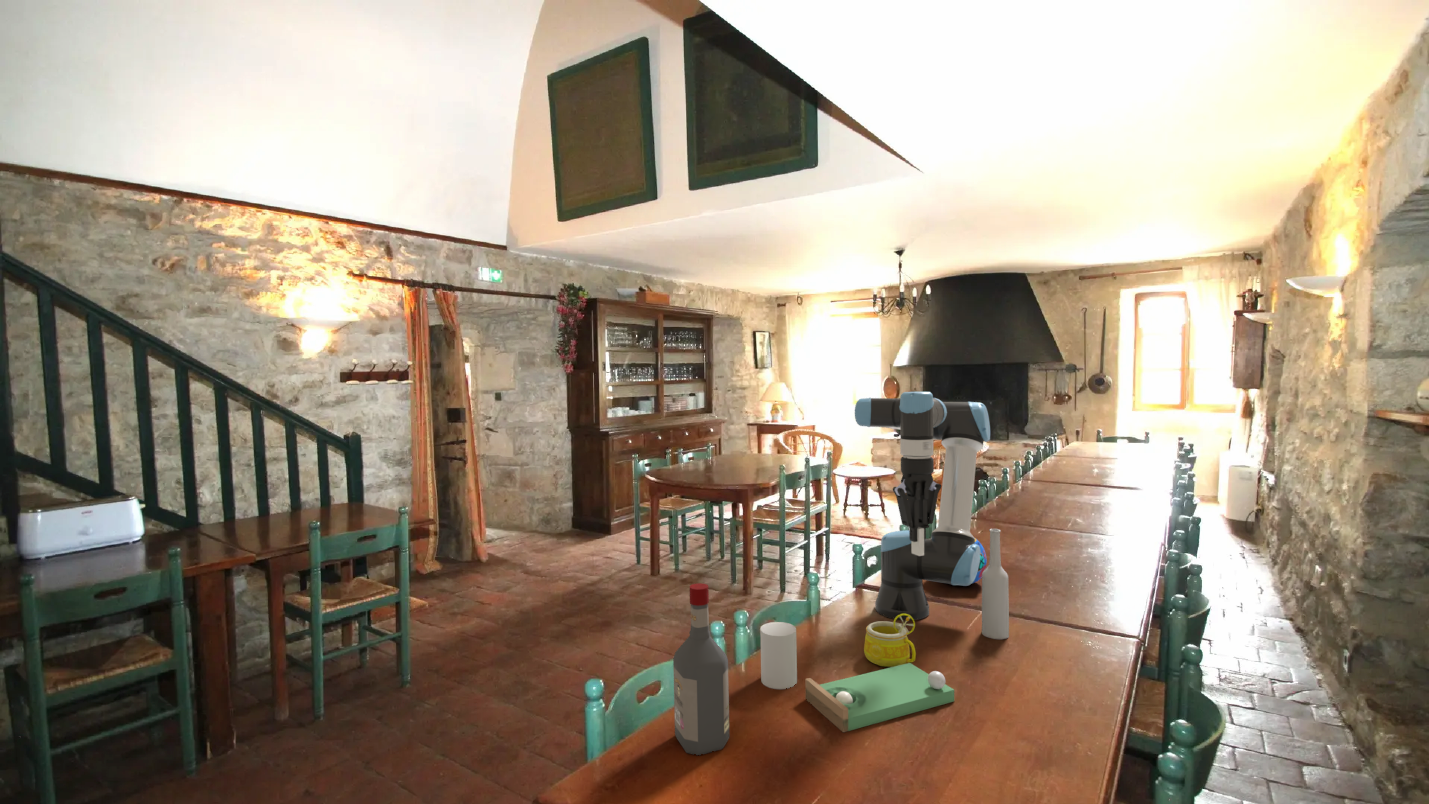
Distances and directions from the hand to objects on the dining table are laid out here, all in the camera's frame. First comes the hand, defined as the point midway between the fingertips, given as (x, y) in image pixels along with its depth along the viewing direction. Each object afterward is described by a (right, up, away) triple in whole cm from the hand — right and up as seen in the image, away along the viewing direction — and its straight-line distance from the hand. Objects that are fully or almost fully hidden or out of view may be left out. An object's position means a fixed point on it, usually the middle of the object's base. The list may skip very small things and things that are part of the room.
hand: (917, 554), depth 152 cm
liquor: (-51, -29, -31) cm, 66 cm away
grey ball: (-2, -23, -17) cm, 29 cm away
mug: (-6, -27, +2) cm, 27 cm away
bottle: (+26, -25, +16) cm, 39 cm away
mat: (-14, -27, -17) cm, 35 cm away
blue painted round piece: (+32, -24, +58) cm, 70 cm away
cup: (-34, -27, -7) cm, 44 cm away
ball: (-22, -26, -20) cm, 39 cm away
